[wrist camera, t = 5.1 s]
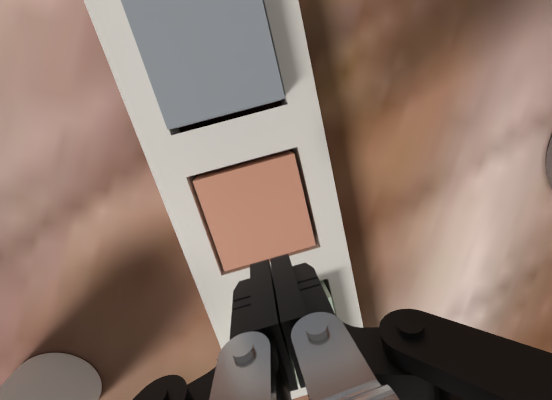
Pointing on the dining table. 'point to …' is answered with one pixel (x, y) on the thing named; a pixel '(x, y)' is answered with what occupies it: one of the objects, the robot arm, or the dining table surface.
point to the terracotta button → (255, 209)
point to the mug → (53, 379)
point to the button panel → (237, 160)
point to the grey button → (205, 56)
